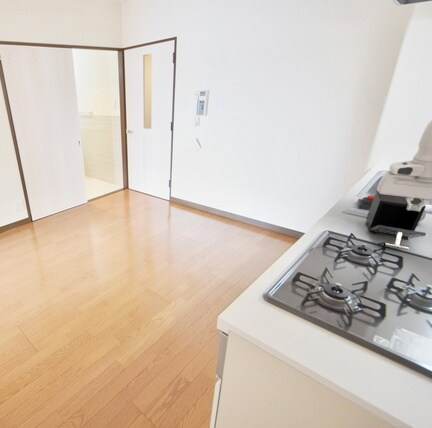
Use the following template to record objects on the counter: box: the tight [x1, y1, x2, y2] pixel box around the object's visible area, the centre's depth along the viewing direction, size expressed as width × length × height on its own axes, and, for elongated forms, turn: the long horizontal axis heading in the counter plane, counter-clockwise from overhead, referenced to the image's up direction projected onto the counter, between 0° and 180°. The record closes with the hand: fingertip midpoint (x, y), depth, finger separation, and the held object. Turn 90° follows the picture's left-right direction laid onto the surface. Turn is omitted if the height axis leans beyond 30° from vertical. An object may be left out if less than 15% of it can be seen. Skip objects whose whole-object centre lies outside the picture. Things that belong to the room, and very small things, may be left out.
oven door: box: [371, 225, 427, 251], centre depth 100 cm, size 7×12×12 cm
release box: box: [356, 196, 373, 211], centre depth 130 cm, size 8×8×4 cm
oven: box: [365, 190, 427, 241], centre depth 108 cm, size 12×12×14 cm
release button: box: [367, 195, 375, 201], centre depth 129 cm, size 3×3×2 cm
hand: (412, 210), depth 91 cm, fingers closed
